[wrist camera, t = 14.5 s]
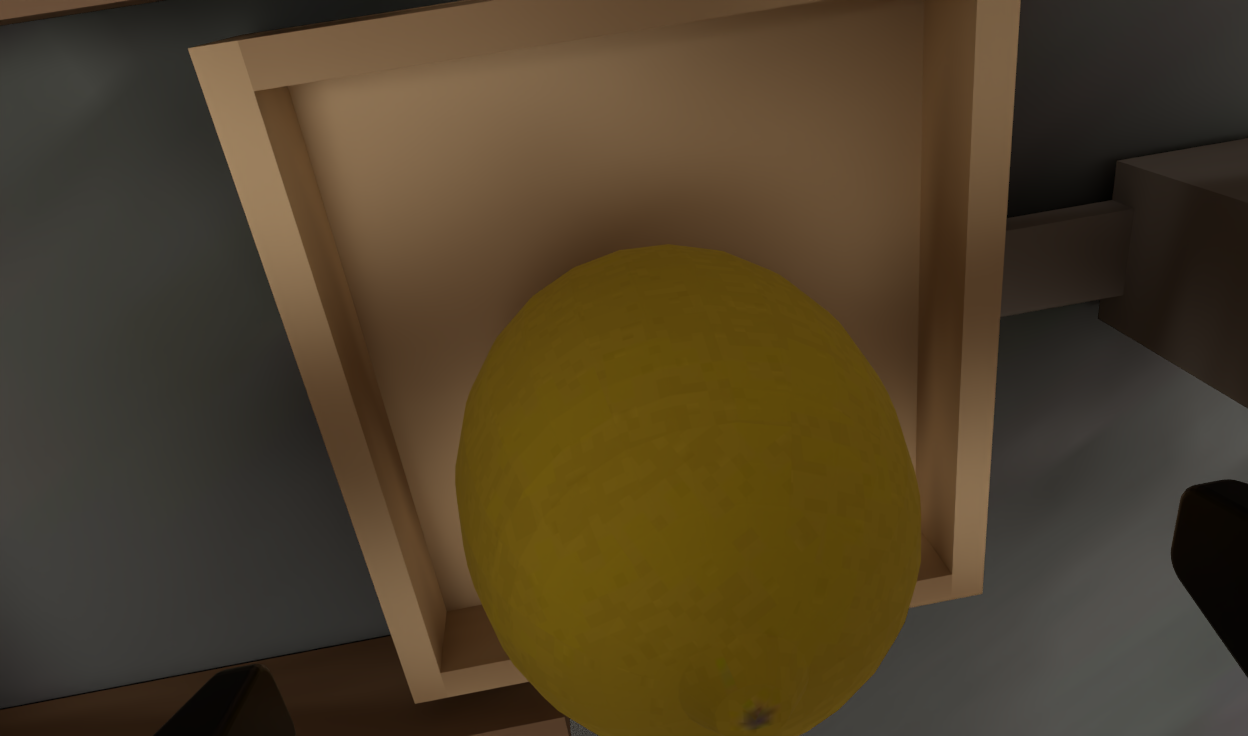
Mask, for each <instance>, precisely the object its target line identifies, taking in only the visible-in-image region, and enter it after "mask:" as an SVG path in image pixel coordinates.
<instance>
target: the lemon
mask: <svg viewBox="0 0 1248 736" xmlns="http://www.w3.org/2000/svg"><path fill="white" fill-rule="evenodd" d="M455 487H456V496H457V504H458V511H459V519H460V526H461V533H462V540H463V547H464V552H465V557H466V561H467V566H468V569H469V573H470V576H471V579H472V582H473V585H474V588H475V590H476V592H477V594H478V597H479V599H480V601H481V603H482V606H483V608H484V610H485V612H486V614H487V616H488V619H489V621H490V623H491V625H492V627H493V629H494V631H495V633H496V636H497V638H498V640H499V642H500V644H501V646H502V648H503V649H504V651H505V652H506V654H507V655H508V657H509V659H510V660H511V662H512V663H513V665H514V666H515V667H516V668H517V669H518V670H519V671H520V672H521V673H522V675H523V676H524V677H525V678H526V679H527V680H528V681H529V682H530V683H531V684H532V685H533V686H534V688H535V689H536V690H537V691H538V692H539V693H540V694H541V695H542V696H543V697H544V698H545V699H546V700H547V701H548V702H549V703H550V704H551V705H552V706H553V707H554V708H556V709H557V710H558V711H559V712H561V713H562V714H564V715H566V716H567V717H569V718H571V719H572V720H574V721H575V722H577V723H579V724H580V725H582V726H584V727H585V728H587V729H588V730H590V731H592V732H593V733H595V734H597V735H599V736H799V735H801V734H803V733H805V732H807V731H809V730H810V729H812V728H813V727H815V726H816V725H817V724H819V723H820V722H822V721H823V720H825V719H826V718H828V717H829V716H830V715H832V714H833V713H835V712H836V711H838V710H839V709H840V708H841V707H842V706H843V705H844V704H845V703H846V702H847V701H848V700H849V699H850V698H851V697H852V696H853V695H854V694H855V693H856V692H857V691H858V690H859V689H860V688H861V687H862V686H863V684H864V683H865V682H866V681H867V680H868V679H869V678H870V677H871V676H872V675H873V674H874V673H875V672H876V670H877V668H878V667H879V665H880V664H881V662H882V660H883V659H884V657H885V655H886V654H887V652H888V651H889V649H890V647H891V646H892V644H893V643H894V641H895V639H896V637H897V636H898V634H899V632H900V630H901V628H902V626H903V625H904V623H905V619H906V616H907V613H908V609H909V606H910V603H911V599H912V596H913V593H914V589H915V586H916V583H917V578H918V573H919V568H920V563H921V504H920V492H919V488H918V483H917V478H916V474H915V471H914V467H913V464H912V461H911V458H910V454H909V451H908V448H907V445H906V442H905V438H904V435H903V432H902V429H901V426H900V423H899V419H898V416H897V413H896V410H895V408H894V406H893V403H892V401H891V399H890V396H889V394H888V392H887V390H886V388H885V386H884V385H883V383H882V381H881V379H880V378H879V376H878V375H877V373H876V372H875V370H874V369H873V368H872V366H871V365H870V363H869V362H868V361H867V359H866V358H865V356H864V355H863V354H862V352H861V351H860V349H859V348H858V347H857V345H856V344H855V342H854V341H853V340H852V338H851V337H850V336H849V334H848V333H847V332H846V330H845V329H844V327H843V326H842V325H841V323H840V322H839V321H838V320H836V319H835V318H834V317H833V316H832V315H831V314H830V313H829V312H828V311H827V310H826V309H824V308H823V307H822V306H820V305H819V304H818V303H816V302H815V301H814V300H813V299H811V298H810V297H809V296H807V295H806V294H805V293H804V292H802V291H801V290H800V289H798V288H797V287H796V286H794V285H793V284H792V283H791V282H789V281H788V280H786V279H785V278H784V277H782V276H781V275H779V274H777V273H775V272H773V271H771V270H769V269H766V268H764V267H761V266H759V265H756V264H754V263H751V262H749V261H747V260H744V259H742V258H739V257H737V256H734V255H732V254H729V253H727V252H724V251H719V250H712V249H704V248H696V247H688V246H680V245H671V244H665V245H657V246H649V247H641V248H633V249H625V250H619V251H616V252H613V253H611V254H608V255H605V256H603V257H600V258H597V259H595V260H592V261H589V262H587V263H584V264H581V265H579V266H576V267H574V268H572V269H571V270H569V271H568V272H566V273H565V274H563V275H562V276H561V277H559V278H558V279H556V280H555V281H553V282H552V283H550V284H549V285H548V286H546V287H545V288H543V289H542V290H540V291H539V292H538V293H536V294H535V295H534V296H532V297H531V298H530V299H529V301H528V302H527V303H526V304H525V305H524V306H523V308H522V309H521V310H520V311H519V312H518V313H517V314H516V316H515V317H514V318H513V319H512V320H511V321H510V323H509V324H508V325H507V326H506V327H505V328H504V330H503V331H502V332H501V333H500V334H499V335H498V336H497V338H496V340H495V342H494V343H493V345H492V347H491V349H490V351H489V353H488V355H487V357H486V359H485V361H484V363H483V365H482V367H481V370H480V372H479V374H478V376H477V378H476V380H475V382H474V384H473V386H472V388H471V390H470V393H469V396H468V399H467V402H466V406H465V412H464V418H463V424H462V430H461V436H460V442H459V448H458V454H457V460H456V466H455Z"/></svg>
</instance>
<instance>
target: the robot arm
mask: <svg viewBox="0 0 1248 736" xmlns="http://www.w3.org/2000/svg"><path fill="white" fill-rule="evenodd" d="M1171 561H1172V564H1173V568H1174V570H1175V572H1176V575H1177V576H1178V578H1179V580H1180V581H1181V583H1182V584H1183V586H1184V587H1185V589H1186V590H1187V591H1188V593H1189V594H1190V596H1191V597H1192V599H1193V600H1194V601H1195V603H1196V604H1197V606H1198V607H1199V609H1200V610H1201V611H1202V613H1203V614H1204V616H1205V617H1206V619H1207V620H1208V622H1209V623H1210V624H1211V626H1212V627H1213V629H1214V630H1215V632H1216V633H1217V634H1218V636H1219V637H1220V639H1221V640H1222V642H1223V643H1224V644H1225V646H1226V647H1227V649H1228V650H1229V652H1230V653H1231V655H1232V656H1233V657H1234V659H1235V660H1236V662H1237V663H1238V665H1239V666H1240V667H1241V669H1242V670H1243V672H1244V673H1245V675H1246V676H1247V677H1248V484H1246V483H1243V482H1240V481H1236V480H1219V481H1214V482H1208V483H1203V484H1198V485H1194V486H1191V487H1189V488H1187V489H1186V491H1185V492H1184V493H1183V495H1182V496H1181V499H1180V504H1179V509H1178V515H1177V520H1176V525H1175V531H1174V536H1173V541H1172V547H1171ZM153 736H296V731H295V726H294V723H293V720H292V718H291V716H290V713H289V711H288V709H287V707H286V704H285V702H284V700H283V698H282V695H281V693H280V691H279V689H278V686H277V684H276V682H275V680H274V677H273V675H272V673H271V672H270V670H269V669H268V668H267V667H266V666H265V665H263V664H251V665H246V666H240V667H235V668H230V669H225V670H222V671H219V672H218V673H216V674H215V675H214V676H213V677H211V678H210V679H209V680H208V681H207V682H206V683H205V684H204V685H203V686H202V687H201V688H200V689H199V690H198V691H197V692H196V693H195V694H194V695H193V696H192V697H191V698H190V699H189V700H188V701H187V702H186V703H185V704H184V705H183V706H182V707H181V708H180V709H179V710H178V711H177V712H176V713H175V714H174V715H173V716H172V717H171V718H170V719H169V720H168V721H167V722H166V723H165V724H164V725H163V726H162V727H161V728H160V729H159V730H158V731H157V732H156V733H155V734H154V735H153Z"/></svg>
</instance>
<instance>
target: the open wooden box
mask: <svg viewBox="0 0 1248 736" xmlns="http://www.w3.org/2000/svg"><path fill="white" fill-rule="evenodd" d="M157 1H164V0H0V26H1V25H8V24H14V23H21V22H27V21H34V20H40V19H47V18H53V17H60V16H66V15H73V14H79V13H86V12H92V11H99V10H105V9H112V8H118V7H125V6H131V5H138V4H144V3H151V2H157ZM251 664H263V665H265V666H266V667H267V668H268V669H269V670H270V672H271V673H272V675H273V677H274V680H275V682H276V684H277V686H278V689H279V691H280V693H281V695H282V698H283V700H284V702H285V704H286V707H287V709H288V711H289V713H290V716H291V718H292V720H293V723H294V726H295V731H296V736H571V732H570V718H569V717H567V716H566V715H564V714H562V713H561V712H559V711H558V710H557V709H556V708H554V707H553V706H552V705H551V704H550V703H549V702H548V701H547V700H546V699H545V698H544V697H543V696H542V695H541V694H540V693H539V692H538V691H537V690H536V689H535V688H534V686H533V685H532V684H531V683H530V682H525V683H520V684H515V685H509V686H504V687H499V688H494V689H489V690H484V691H479V692H473V693H468V694H463V695H458V696H453V697H448V698H443V699H437V700H432V701H427V702H422V703H417V704H415V703H414V700H413V697H412V694H411V691H410V688H409V685H408V682H407V679H406V677H405V674H404V671H403V668H402V665H401V662H400V659H399V656H398V653H397V651H396V648H395V645H394V642H393V639H392V636H387V637H382V638H377V639H372V640H366V641H361V642H356V643H351V644H345V645H340V646H335V647H330V648H324V649H319V650H314V651H309V652H303V653H298V654H293V655H288V656H282V657H277V658H272V659H266V660H261V661H256V662H251V663H245V664H240V665H235V666H230V667H224V668H219V669H214V670H209V671H203V672H198V673H193V674H188V675H182V676H177V677H172V678H167V679H161V680H156V681H151V682H146V683H140V684H135V685H130V686H125V687H119V688H114V689H109V690H104V691H98V692H93V693H88V694H83V695H77V696H72V697H67V698H62V699H56V700H51V701H46V702H41V703H35V704H30V705H25V706H19V707H14V708H9V709H4V710H0V736H153V735H154V734H155V733H156V732H157V731H158V730H159V729H160V728H161V727H162V726H163V725H164V724H165V723H166V722H167V721H168V720H169V719H170V718H171V717H172V716H173V715H174V714H175V713H176V712H177V711H178V710H179V709H180V708H181V707H182V706H183V705H184V704H185V703H186V702H187V701H188V700H189V699H190V698H191V697H192V696H193V695H194V694H195V693H196V692H197V691H198V690H199V689H200V688H201V687H202V686H203V685H204V684H205V683H206V682H207V681H208V680H209V679H210V678H211V677H213V676H214V675H215V674H216V673H218V672H219V671H222V670H225V669H230V668H235V667H240V666H246V665H251Z"/></svg>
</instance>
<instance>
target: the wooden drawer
mask: <svg viewBox="0 0 1248 736" xmlns="http://www.w3.org/2000/svg"><path fill="white" fill-rule="evenodd" d="M1020 3H1021V0H462V1H456V2H449V3H443V4H437V5H430V6H424V7H417V8H411V9H405V10H398V11H392V12H385V13H379V14H373V15H366V16H360V17H353V18H347V19H341V20H334V21H328V22H321V23H315V24H309V25H302V26H296V27H289V28H283V29H277V30H270V31H264V32H257V33H251V34H245V35H239V36H235V37H231V38H227V39H223V40H219V41H215V42H211V43H207V44H203V45H199V46H195V47H191V48H188V50H189V53H190V56H191V59H192V62H193V65H194V68H195V71H196V73H197V76H198V79H199V82H200V85H201V88H202V91H203V94H204V96H205V99H206V102H207V105H208V108H209V111H210V114H211V117H212V120H213V122H214V125H215V128H216V131H217V134H218V137H219V140H220V143H221V146H222V148H223V151H224V154H225V157H226V160H227V163H228V166H229V169H230V172H231V174H232V177H233V180H234V183H235V186H236V189H237V192H238V195H239V197H240V200H241V203H242V206H243V209H244V212H245V215H246V218H247V221H248V223H249V226H250V229H251V232H252V235H253V238H254V241H255V244H256V247H257V249H258V252H259V255H260V258H261V261H262V264H263V267H264V270H265V273H266V275H267V278H268V281H269V284H270V287H271V290H272V293H273V296H274V299H275V301H276V304H277V307H278V310H279V313H280V316H281V319H282V322H283V324H284V327H285V330H286V333H287V336H288V339H289V342H290V345H291V348H292V350H293V353H294V356H295V359H296V362H297V365H298V368H299V371H300V374H301V376H302V379H303V382H304V385H305V388H306V391H307V394H308V397H309V400H310V402H311V405H312V408H313V411H314V414H315V417H316V420H317V423H318V425H319V428H320V431H321V434H322V437H323V440H324V443H325V446H326V449H327V451H328V454H329V457H330V460H331V463H332V466H333V469H334V472H335V475H336V477H337V480H338V483H339V486H340V489H341V492H342V495H343V498H344V501H345V503H346V506H347V509H348V512H349V515H350V518H351V521H352V524H353V526H354V529H355V532H356V535H357V538H358V541H359V544H360V547H361V550H362V552H363V555H364V558H365V561H366V564H367V567H368V570H369V573H370V576H371V578H372V581H373V584H374V587H375V590H376V593H377V596H378V599H379V602H380V604H381V607H382V610H383V613H384V616H385V619H386V622H387V625H388V628H389V630H390V633H391V636H392V639H393V642H394V645H395V648H396V651H397V653H398V656H399V659H400V662H401V665H402V668H403V671H404V674H405V677H406V679H407V682H408V685H409V688H410V691H411V694H412V697H413V700H414V703H415V704H417V703H422V702H427V701H432V700H437V699H443V698H448V697H453V696H458V695H463V694H468V693H473V692H479V691H484V690H489V689H494V688H499V687H504V686H509V685H515V684H520V683H525V682H529V681H528V680H527V679H526V678H525V677H524V676H523V675H522V673H521V672H520V671H519V670H518V669H517V668H516V667H515V666H514V665H513V663H512V662H511V660H510V659H509V657H508V655H507V654H506V652H505V651H504V649H503V648H502V646H501V644H500V642H499V640H498V638H497V636H496V633H495V631H494V629H493V627H492V625H491V623H490V621H489V619H488V616H487V614H486V612H485V610H484V608H483V606H482V603H481V601H480V599H479V597H478V594H477V592H476V590H475V588H474V585H473V582H472V579H471V576H470V573H469V569H468V566H467V561H466V557H465V552H464V547H463V540H462V533H461V526H460V519H459V511H458V504H457V496H456V487H455V466H456V460H457V454H458V448H459V442H460V436H461V430H462V424H463V418H464V412H465V406H466V402H467V399H468V396H469V393H470V390H471V388H472V386H473V384H474V382H475V380H476V378H477V376H478V374H479V372H480V370H481V367H482V365H483V363H484V361H485V359H486V357H487V355H488V353H489V351H490V349H491V347H492V345H493V343H494V342H495V340H496V338H497V336H498V335H499V334H500V333H501V332H502V331H503V330H504V328H505V327H506V326H507V325H508V324H509V323H510V321H511V320H512V319H513V318H514V317H515V316H516V314H517V313H518V312H519V311H520V310H521V309H522V308H523V306H524V305H525V304H526V303H527V302H528V301H529V299H530V298H531V297H532V296H534V295H535V294H536V293H538V292H539V291H540V290H542V289H543V288H545V287H546V286H548V285H549V284H550V283H552V282H553V281H555V280H556V279H558V278H559V277H561V276H562V275H563V274H565V273H566V272H568V271H569V270H571V269H572V268H574V267H576V266H579V265H581V264H584V263H587V262H589V261H592V260H595V259H597V258H600V257H603V256H605V255H608V254H611V253H613V252H616V251H619V250H625V249H633V248H641V247H649V246H657V245H665V244H671V245H680V246H688V247H696V248H704V249H712V250H719V251H724V252H727V253H729V254H732V255H734V256H737V257H739V258H742V259H744V260H747V261H749V262H751V263H754V264H756V265H759V266H761V267H764V268H766V269H769V270H771V271H773V272H775V273H777V274H779V275H781V276H782V277H784V278H785V279H786V280H788V281H789V282H791V283H792V284H793V285H794V286H796V287H797V288H798V289H800V290H801V291H802V292H804V293H805V294H806V295H807V296H809V297H810V298H811V299H813V300H814V301H815V302H816V303H818V304H819V305H820V306H822V307H823V308H824V309H826V310H827V311H828V312H829V313H830V314H831V315H832V316H833V317H834V318H835V319H836V320H838V321H839V322H840V323H841V325H842V326H843V327H844V329H845V330H846V332H847V333H848V334H849V336H850V337H851V338H852V340H853V341H854V342H855V344H856V345H857V347H858V348H859V349H860V351H861V352H862V354H863V355H864V356H865V358H866V359H867V361H868V362H869V363H870V365H871V366H872V368H873V369H874V370H875V372H876V373H877V375H878V376H879V378H880V379H881V381H882V383H883V385H884V386H885V388H886V390H887V392H888V394H889V396H890V399H891V401H892V403H893V406H894V408H895V410H896V413H897V416H898V419H899V423H900V426H901V429H902V432H903V435H904V438H905V442H906V445H907V448H908V451H909V454H910V458H911V461H912V464H913V467H914V471H915V474H916V478H917V483H918V488H919V492H920V504H921V563H920V568H919V573H918V578H917V583H916V586H915V589H914V593H913V596H912V599H911V603H910V606H909V608H911V607H916V606H921V605H927V604H932V603H937V602H942V601H947V600H952V599H957V598H963V597H968V596H973V595H978V594H982V591H983V575H984V560H985V544H986V529H987V513H988V498H989V483H990V467H991V452H992V436H993V421H994V405H995V390H996V374H997V359H998V343H999V328H1000V317H1004V316H1009V315H1015V314H1021V313H1026V312H1032V311H1037V310H1043V309H1049V308H1054V307H1060V306H1065V305H1071V304H1076V303H1082V302H1088V301H1093V300H1099V299H1100V305H1099V314H1098V319H1100V320H1102V321H1103V322H1105V323H1107V324H1108V325H1110V326H1112V327H1113V328H1115V329H1117V330H1118V331H1120V332H1122V333H1123V334H1125V335H1127V336H1128V337H1130V338H1132V339H1133V340H1135V341H1137V342H1138V343H1140V344H1142V345H1143V346H1145V347H1147V348H1148V349H1150V350H1151V351H1153V352H1155V353H1156V354H1158V355H1160V356H1161V357H1163V358H1165V359H1166V360H1168V361H1170V362H1171V363H1173V364H1175V365H1176V366H1178V367H1180V368H1181V369H1183V370H1185V371H1186V372H1188V373H1190V374H1191V375H1193V376H1195V377H1196V378H1198V379H1200V380H1201V381H1203V382H1205V383H1206V384H1208V385H1210V386H1211V387H1213V388H1215V389H1216V390H1218V391H1220V392H1221V393H1223V394H1225V395H1226V396H1228V397H1230V398H1231V399H1233V400H1235V401H1236V402H1238V403H1240V404H1241V405H1243V406H1245V407H1246V408H1248V138H1247V139H1241V140H1235V141H1229V142H1224V143H1218V144H1212V145H1206V146H1200V147H1194V148H1188V149H1183V150H1177V151H1171V152H1165V153H1159V154H1153V155H1148V156H1142V157H1136V158H1130V159H1124V160H1118V161H1117V164H1116V173H1115V181H1114V189H1113V197H1112V200H1109V201H1104V202H1098V203H1092V204H1086V205H1080V206H1075V207H1069V208H1063V209H1057V210H1052V211H1046V212H1040V213H1034V214H1029V215H1023V216H1017V217H1011V218H1007V204H1008V189H1009V173H1010V158H1011V142H1012V127H1013V111H1014V96H1015V80H1016V65H1017V49H1018V34H1019V18H1020Z"/></svg>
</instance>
